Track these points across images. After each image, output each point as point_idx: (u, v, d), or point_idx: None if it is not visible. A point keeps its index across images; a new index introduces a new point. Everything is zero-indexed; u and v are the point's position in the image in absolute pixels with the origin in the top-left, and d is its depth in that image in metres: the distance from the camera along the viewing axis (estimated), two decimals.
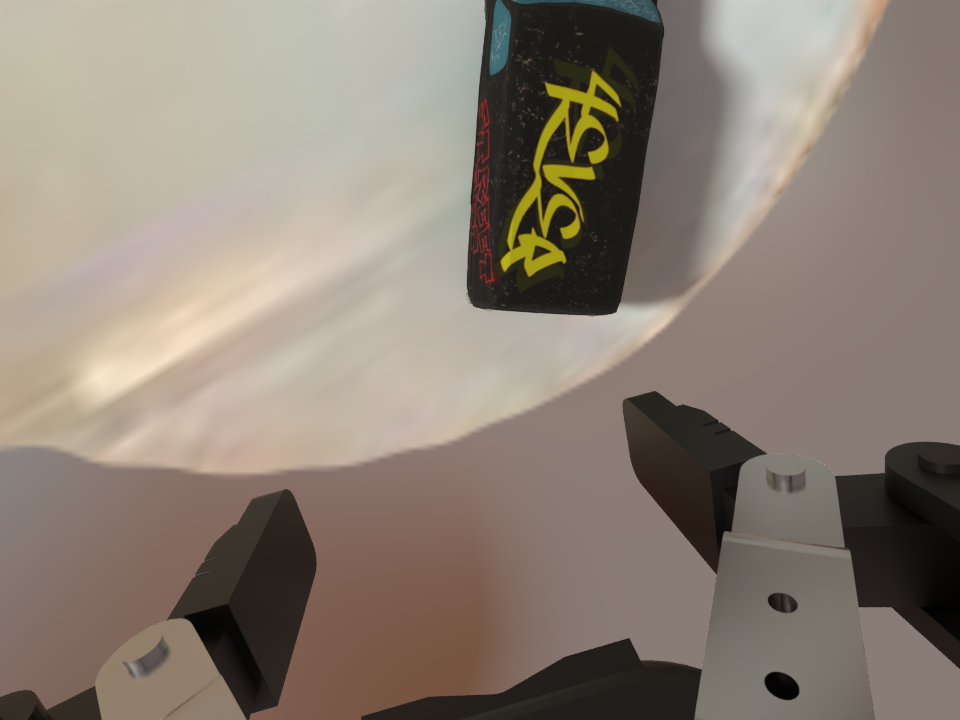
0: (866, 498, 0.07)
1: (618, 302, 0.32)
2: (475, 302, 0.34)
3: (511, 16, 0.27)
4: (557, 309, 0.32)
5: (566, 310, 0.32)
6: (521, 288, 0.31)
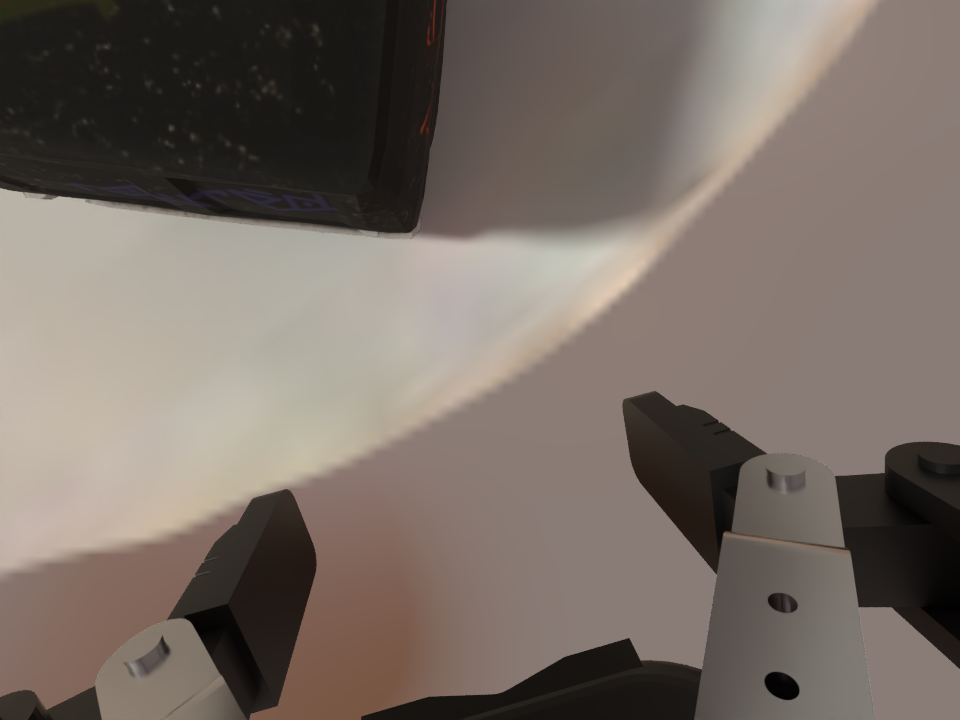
0: (866, 498, 0.07)
1: (375, 150, 0.09)
2: None
3: None
4: (126, 161, 0.08)
5: (170, 168, 0.08)
6: None
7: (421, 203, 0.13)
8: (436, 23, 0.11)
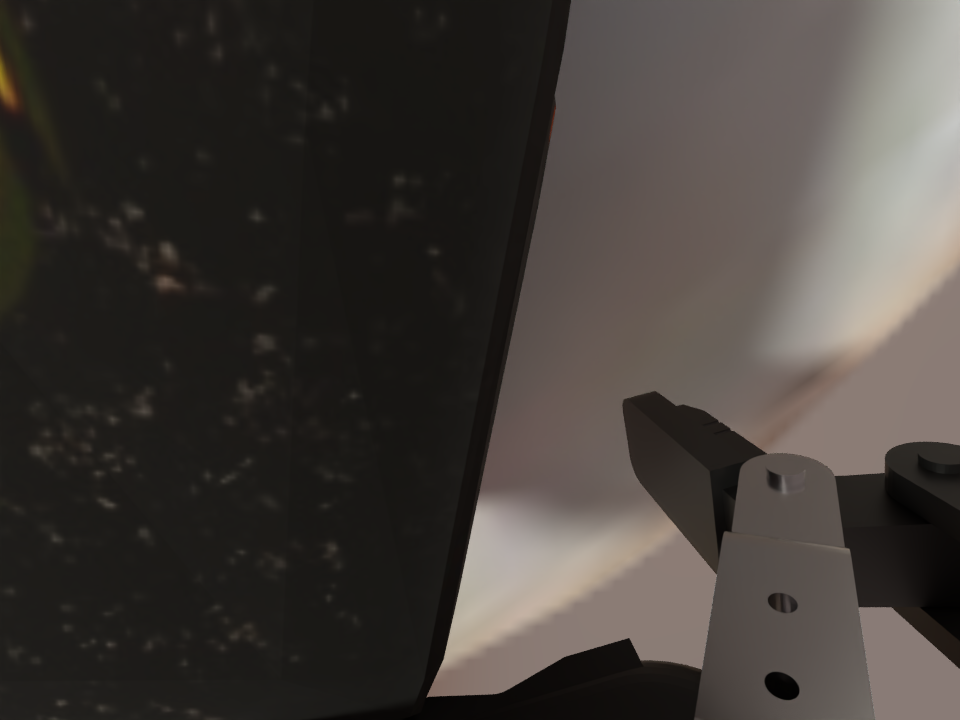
0: (866, 498, 0.07)
1: (426, 676, 0.05)
2: None
3: None
4: None
5: None
6: None
7: None
8: None
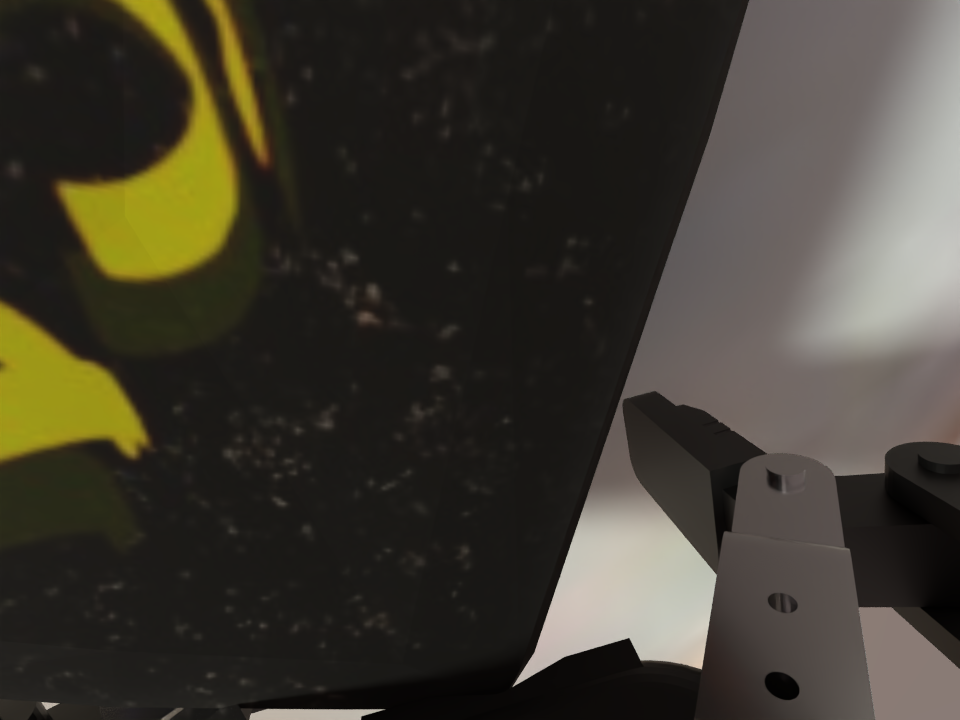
0: (866, 498, 0.07)
1: (520, 666, 0.06)
2: None
3: None
4: (131, 702, 0.05)
5: None
6: None
7: None
8: None
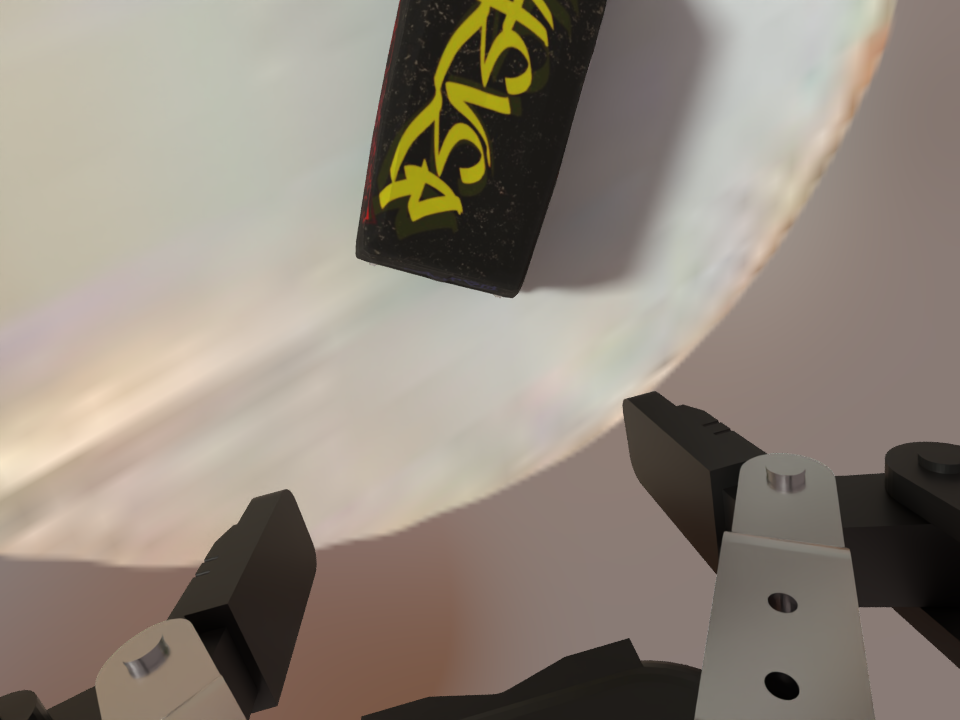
0: (866, 498, 0.07)
1: (521, 277, 0.26)
2: (356, 250, 0.28)
3: None
4: (444, 271, 0.25)
5: (456, 274, 0.26)
6: (401, 233, 0.24)
7: None
8: None
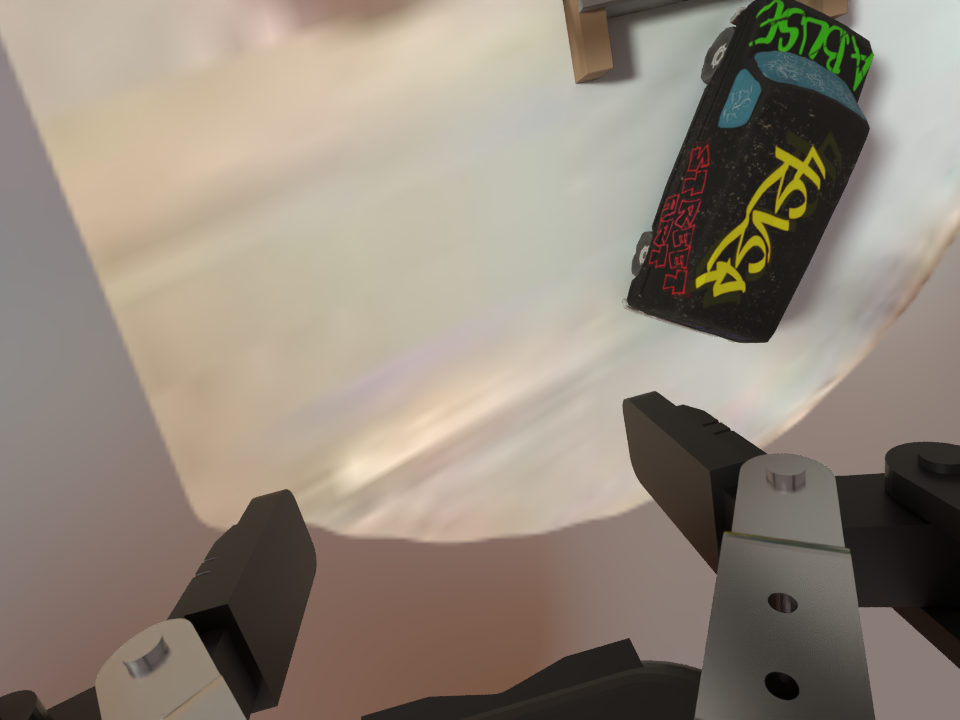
0: (866, 498, 0.07)
1: (772, 334, 0.38)
2: (647, 308, 0.40)
3: (761, 88, 0.33)
4: (724, 329, 0.38)
5: (731, 331, 0.38)
6: (705, 304, 0.36)
7: None
8: None
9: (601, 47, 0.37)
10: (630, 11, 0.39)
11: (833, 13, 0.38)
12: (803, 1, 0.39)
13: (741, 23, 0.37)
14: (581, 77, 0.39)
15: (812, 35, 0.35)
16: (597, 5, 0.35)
